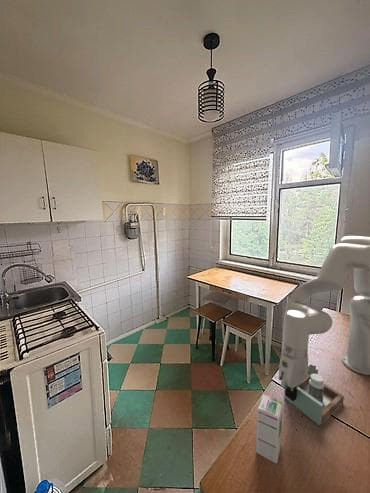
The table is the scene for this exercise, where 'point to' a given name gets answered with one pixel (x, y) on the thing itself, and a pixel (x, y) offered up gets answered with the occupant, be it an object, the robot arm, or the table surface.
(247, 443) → the table surface
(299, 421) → the table surface
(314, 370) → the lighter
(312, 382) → the pill bottle
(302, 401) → the gate
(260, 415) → the syrup box
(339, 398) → the bay
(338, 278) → the robot arm
